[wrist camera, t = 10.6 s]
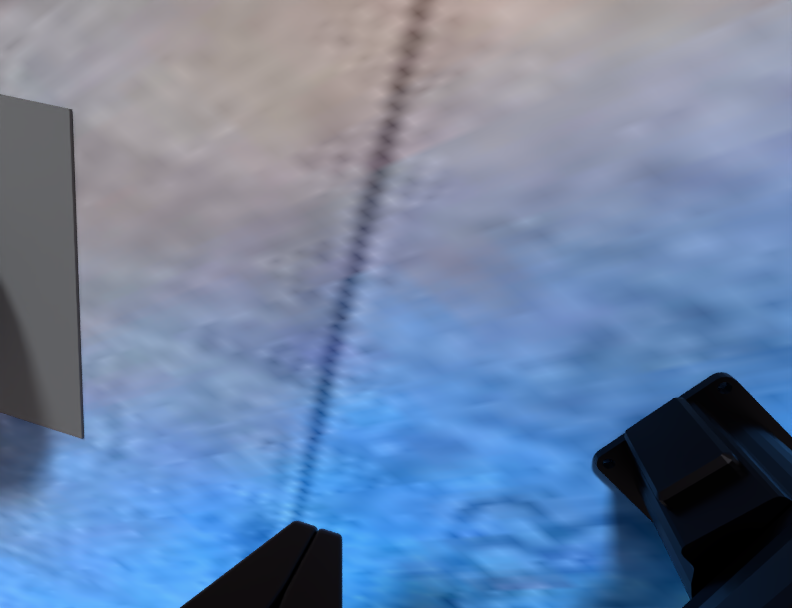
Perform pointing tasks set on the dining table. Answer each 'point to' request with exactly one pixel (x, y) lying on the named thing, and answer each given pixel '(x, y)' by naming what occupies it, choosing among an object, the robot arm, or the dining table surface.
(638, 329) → the dining table surface
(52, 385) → the placemat
